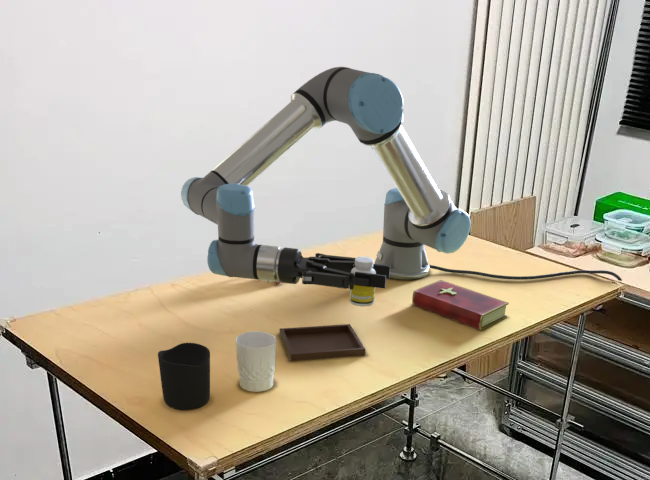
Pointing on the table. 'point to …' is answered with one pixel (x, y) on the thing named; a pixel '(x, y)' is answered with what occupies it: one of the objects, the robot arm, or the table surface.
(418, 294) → the hardcover book
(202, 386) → the pen holder
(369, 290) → the supplement bottle
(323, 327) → the tray
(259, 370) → the white cup
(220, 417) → the table surface
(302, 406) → the table surface
